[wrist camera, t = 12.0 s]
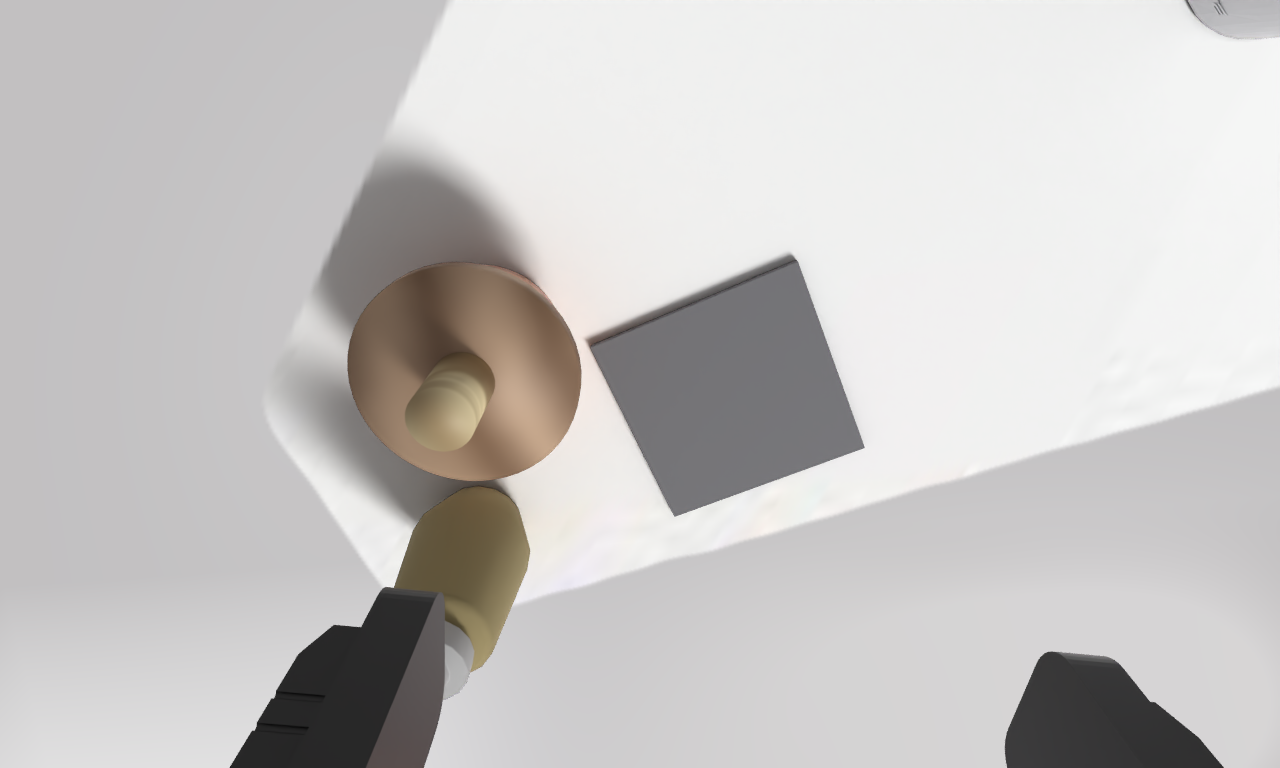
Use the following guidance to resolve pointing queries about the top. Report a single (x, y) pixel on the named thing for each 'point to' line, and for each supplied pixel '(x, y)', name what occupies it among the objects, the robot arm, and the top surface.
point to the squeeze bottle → (468, 572)
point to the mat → (731, 390)
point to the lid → (465, 371)
